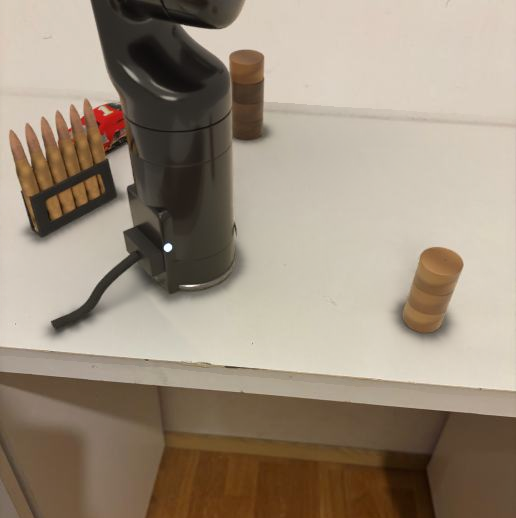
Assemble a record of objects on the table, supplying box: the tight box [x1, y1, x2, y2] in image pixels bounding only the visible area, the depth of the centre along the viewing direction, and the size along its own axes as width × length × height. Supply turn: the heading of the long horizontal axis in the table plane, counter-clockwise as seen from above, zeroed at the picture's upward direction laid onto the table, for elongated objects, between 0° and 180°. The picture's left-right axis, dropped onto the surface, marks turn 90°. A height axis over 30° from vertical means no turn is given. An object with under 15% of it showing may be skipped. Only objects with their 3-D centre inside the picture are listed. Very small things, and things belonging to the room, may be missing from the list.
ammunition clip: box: [8, 97, 118, 238], centre depth 62 cm, size 11×2×12 cm, turn 138°
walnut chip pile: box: [231, 77, 265, 141], centre depth 76 cm, size 4×4×8 cm
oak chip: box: [228, 49, 265, 85], centre depth 72 cm, size 4×4×2 cm
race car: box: [57, 101, 127, 152], centre depth 75 cm, size 13×5×4 cm, turn 140°
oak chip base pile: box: [402, 246, 464, 334], centre depth 54 cm, size 4×4×8 cm
